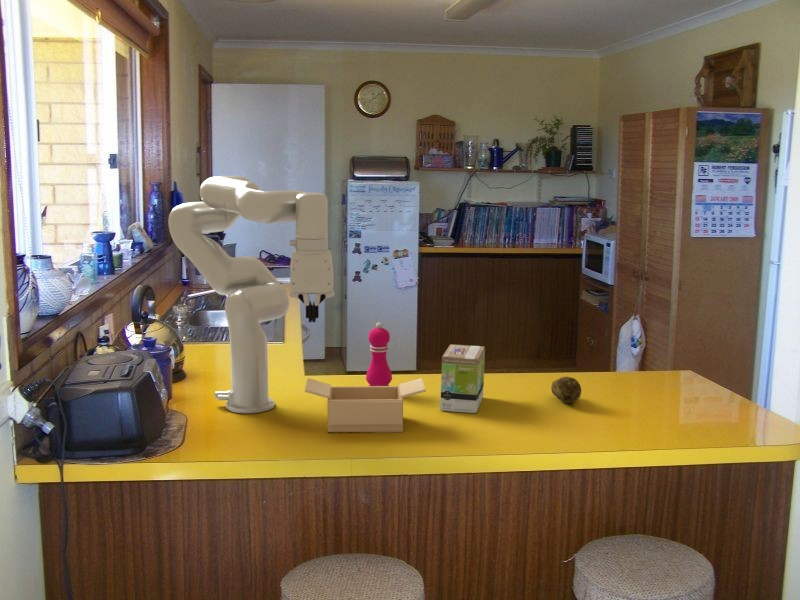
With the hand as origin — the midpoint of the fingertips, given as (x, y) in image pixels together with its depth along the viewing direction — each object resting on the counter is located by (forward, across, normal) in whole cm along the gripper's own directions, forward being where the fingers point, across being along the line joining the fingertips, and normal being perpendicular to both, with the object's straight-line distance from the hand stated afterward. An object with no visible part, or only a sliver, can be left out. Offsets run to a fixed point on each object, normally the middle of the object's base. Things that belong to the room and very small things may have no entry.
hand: (312, 320), depth 203 cm
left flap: (+18, +4, 0) cm, 18 cm away
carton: (+26, +13, 0) cm, 29 cm away
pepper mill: (+26, +17, +27) cm, 41 cm away
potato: (+26, +67, +16) cm, 73 cm away
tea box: (+26, +39, +16) cm, 49 cm away
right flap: (+17, +21, 0) cm, 28 cm away
